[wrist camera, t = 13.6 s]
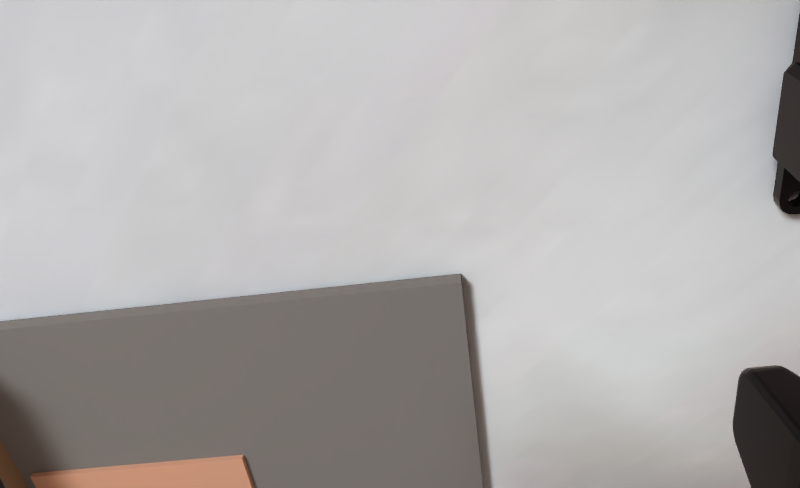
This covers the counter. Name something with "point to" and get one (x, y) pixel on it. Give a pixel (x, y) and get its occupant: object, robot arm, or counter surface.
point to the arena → (246, 392)
